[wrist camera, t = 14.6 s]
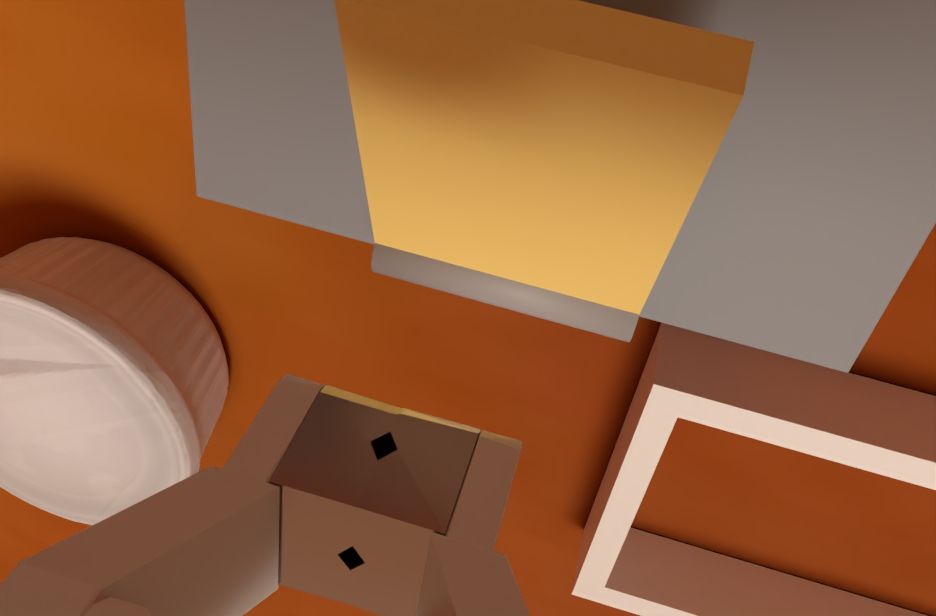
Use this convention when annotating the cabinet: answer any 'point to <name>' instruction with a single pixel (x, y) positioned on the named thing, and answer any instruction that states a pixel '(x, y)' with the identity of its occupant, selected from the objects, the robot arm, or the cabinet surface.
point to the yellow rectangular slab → (534, 146)
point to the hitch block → (721, 193)
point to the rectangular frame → (759, 417)
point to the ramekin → (101, 378)
